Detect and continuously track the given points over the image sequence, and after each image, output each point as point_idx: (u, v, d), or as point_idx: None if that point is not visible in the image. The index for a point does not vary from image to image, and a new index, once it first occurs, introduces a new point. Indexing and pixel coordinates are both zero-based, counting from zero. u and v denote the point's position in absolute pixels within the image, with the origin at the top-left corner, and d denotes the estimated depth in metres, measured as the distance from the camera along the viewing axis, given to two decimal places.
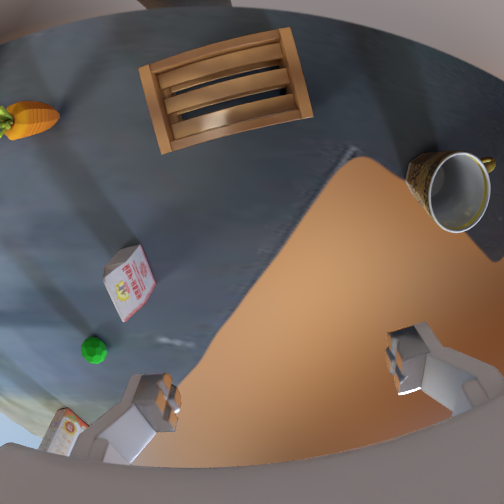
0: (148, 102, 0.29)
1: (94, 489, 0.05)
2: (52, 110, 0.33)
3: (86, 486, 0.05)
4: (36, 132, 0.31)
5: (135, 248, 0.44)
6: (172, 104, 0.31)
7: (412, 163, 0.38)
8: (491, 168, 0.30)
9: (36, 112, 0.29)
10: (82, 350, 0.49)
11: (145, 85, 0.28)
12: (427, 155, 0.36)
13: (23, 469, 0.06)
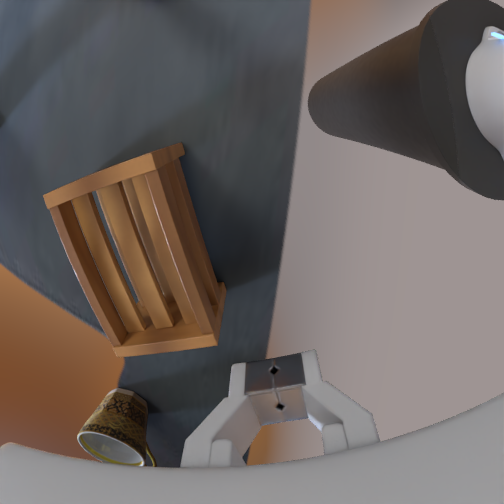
0: (100, 173, 0.20)
1: (94, 489, 0.05)
2: None
3: (86, 486, 0.05)
4: None
5: None
6: (111, 194, 0.23)
7: (131, 398, 0.40)
8: None
9: None
10: None
11: (123, 167, 0.20)
12: (140, 413, 0.39)
13: (23, 469, 0.06)
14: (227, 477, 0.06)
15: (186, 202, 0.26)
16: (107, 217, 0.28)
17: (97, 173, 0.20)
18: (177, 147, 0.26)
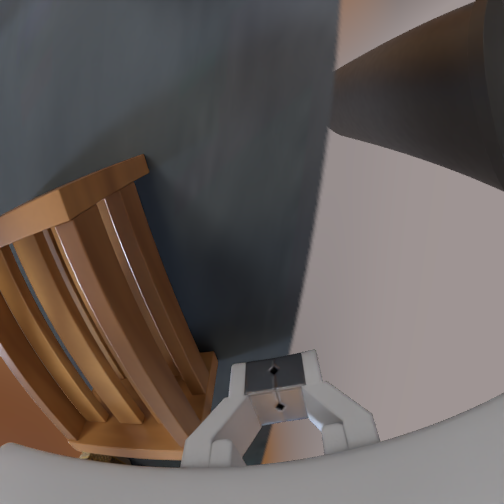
0: None
1: (94, 489, 0.05)
2: None
3: (86, 486, 0.05)
4: None
5: None
6: (26, 249, 0.12)
7: (110, 458, 0.30)
8: None
9: None
10: None
11: (21, 215, 0.10)
12: None
13: (23, 469, 0.06)
14: (227, 477, 0.06)
15: (145, 257, 0.15)
16: None
17: None
18: (132, 164, 0.16)
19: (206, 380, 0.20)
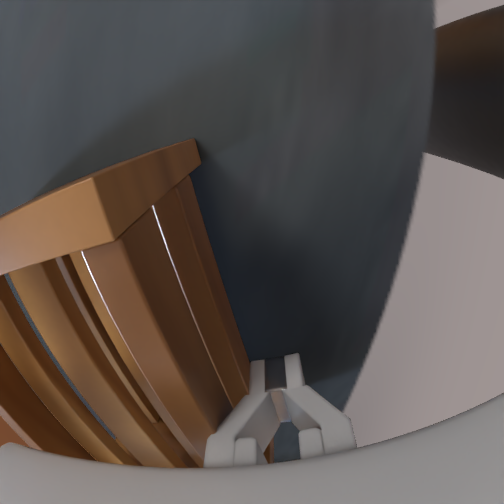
0: None
1: (94, 489, 0.05)
2: None
3: (86, 486, 0.05)
4: None
5: None
6: (27, 277, 0.08)
7: None
8: None
9: None
10: None
11: (16, 227, 0.05)
12: None
13: (23, 469, 0.06)
14: (227, 477, 0.06)
15: (210, 286, 0.11)
16: None
17: None
18: (186, 149, 0.11)
19: None
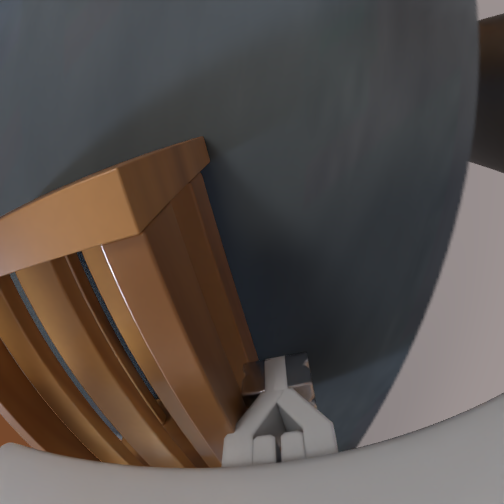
0: None
1: (94, 489, 0.05)
2: None
3: (86, 486, 0.05)
4: None
5: None
6: (35, 276, 0.08)
7: None
8: None
9: None
10: None
11: (30, 221, 0.05)
12: None
13: (23, 469, 0.06)
14: (227, 477, 0.06)
15: (223, 284, 0.11)
16: None
17: None
18: (196, 146, 0.11)
19: None
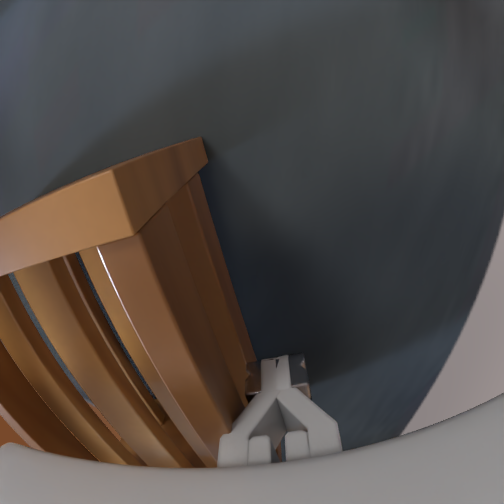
0: None
1: (94, 489, 0.05)
2: None
3: (86, 486, 0.05)
4: None
5: None
6: (33, 277, 0.08)
7: None
8: None
9: None
10: None
11: (27, 223, 0.05)
12: None
13: (23, 469, 0.06)
14: (227, 477, 0.06)
15: (221, 284, 0.11)
16: None
17: None
18: (194, 147, 0.11)
19: None
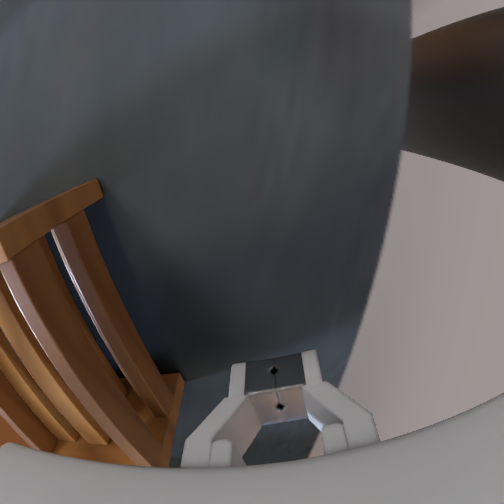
0: None
1: (94, 489, 0.05)
2: None
3: (86, 486, 0.05)
4: None
5: None
6: None
7: None
8: None
9: None
10: None
11: None
12: None
13: (23, 469, 0.06)
14: (227, 477, 0.06)
15: (95, 286, 0.14)
16: None
17: None
18: (82, 191, 0.15)
19: (169, 403, 0.19)
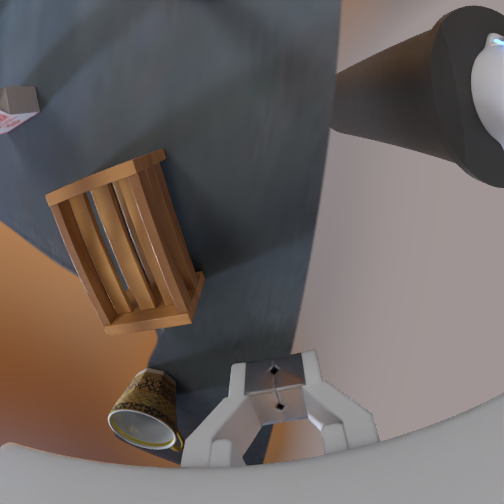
0: (92, 177, 0.24)
1: (94, 489, 0.05)
2: None
3: (86, 486, 0.05)
4: None
5: (32, 110, 0.28)
6: (101, 194, 0.27)
7: (161, 377, 0.43)
8: (173, 449, 0.39)
9: None
10: None
11: (110, 171, 0.24)
12: (171, 391, 0.42)
13: (23, 469, 0.06)
14: (227, 477, 0.06)
15: (165, 200, 0.30)
16: (100, 214, 0.32)
17: (89, 177, 0.24)
18: (158, 153, 0.30)
19: (196, 282, 0.34)
